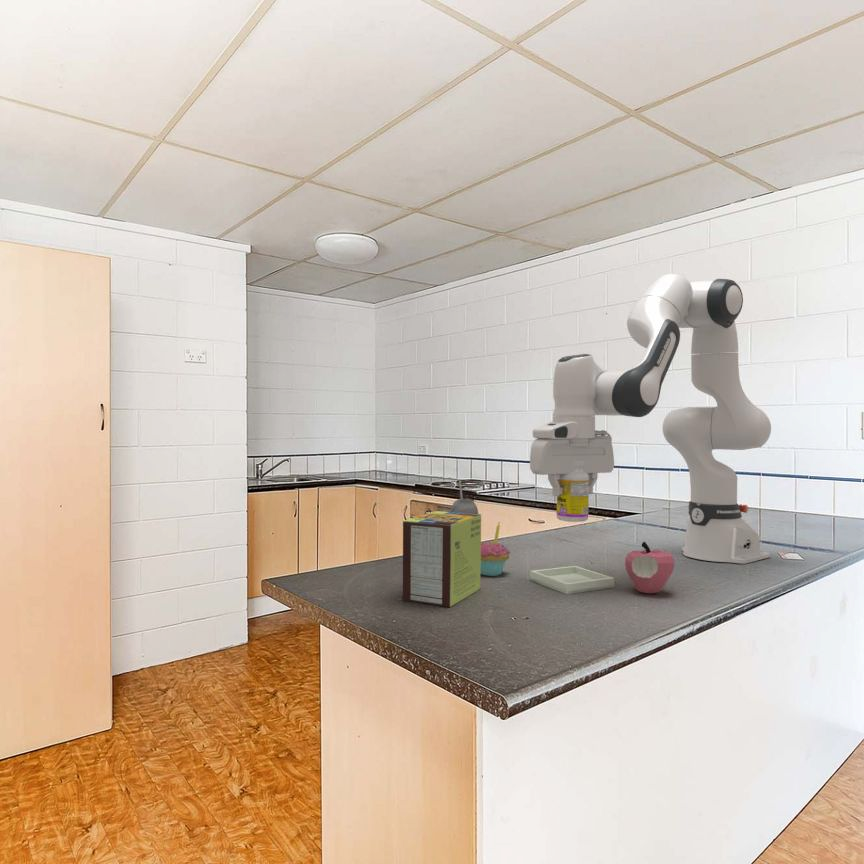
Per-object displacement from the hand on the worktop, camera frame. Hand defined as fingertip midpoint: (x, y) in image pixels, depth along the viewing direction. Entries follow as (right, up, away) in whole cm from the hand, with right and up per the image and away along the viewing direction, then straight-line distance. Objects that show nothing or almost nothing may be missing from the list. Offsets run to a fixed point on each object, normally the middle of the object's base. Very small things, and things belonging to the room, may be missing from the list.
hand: (572, 494), depth 135 cm
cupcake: (-17, -19, +9) cm, 27 cm away
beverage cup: (-22, -19, +22) cm, 36 cm away
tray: (0, -19, 0) cm, 19 cm away
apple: (+14, -20, -6) cm, 25 cm away
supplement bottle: (0, -6, 0) cm, 6 cm away
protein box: (-28, -19, -9) cm, 35 cm away
